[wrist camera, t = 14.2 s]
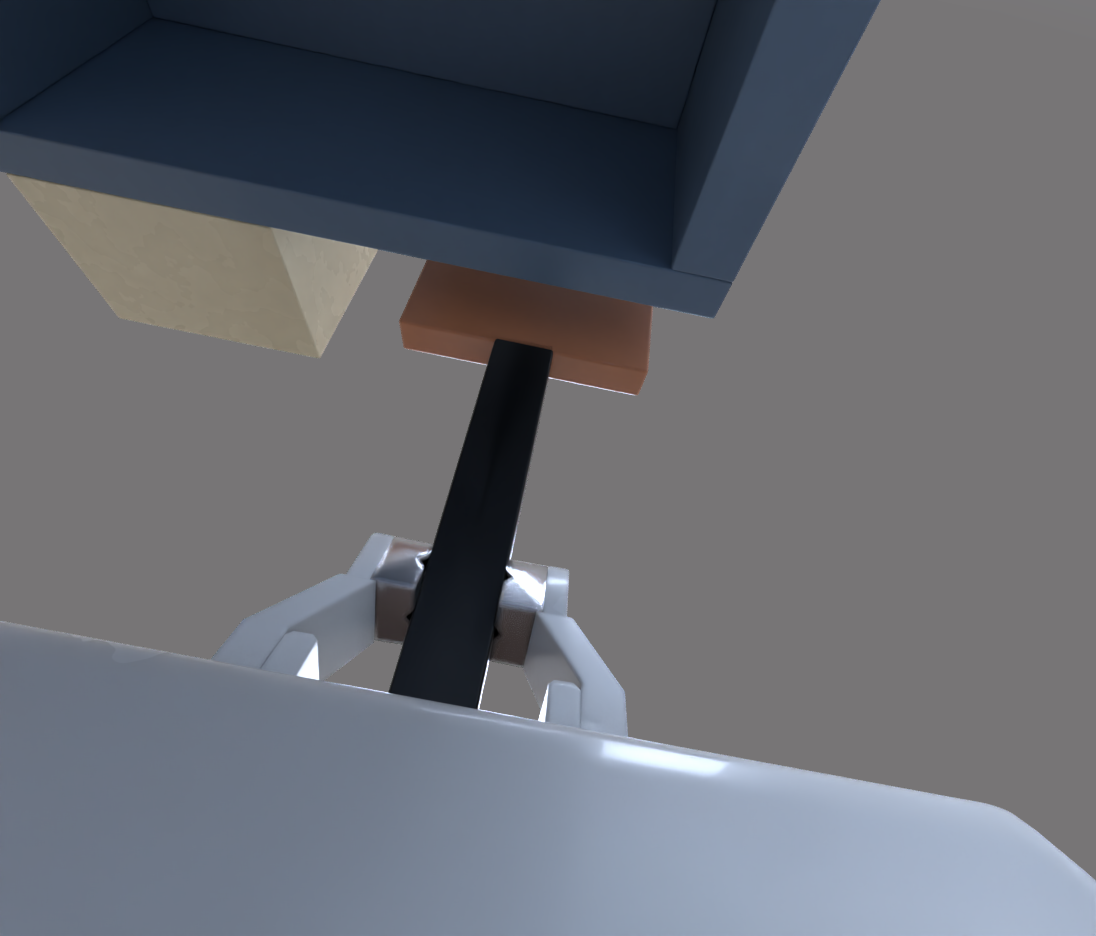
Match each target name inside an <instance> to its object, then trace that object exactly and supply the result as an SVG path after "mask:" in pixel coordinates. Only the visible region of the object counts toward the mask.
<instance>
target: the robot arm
mask: <svg viewBox="0 0 1096 936" xmlns="http://www.w3.org/2000/svg"><path fill="white" fill-rule="evenodd" d="M432 546H433V544H429V543H425V542H420V541H415V540H410V539H406V538H402V537H397V536H396V537H394V536H391V535H386V534H381V533H374V534H372V535H371V536H370V538H369V539H368V541H367V543H366V544H365V546H364V547H363V549H362V550H361V552H360V553H359V555H358V556H357V558H356V559H355V561H354V563H353V564H352V566H351V567H350V569H349V570H348V572H347V573H346V575H344V574H338V575H336V576H334V577H332V578H329V579H327V580H325V581H323V582H321V583H319V584H317V585H315V586H313V587H311V588H308V589H306V590H304V591H302V592H300V593H298V594H296V595H294V596H292V597H289V598H287V599H285V600H283V601H281V602H279V603H277V604H275V605H273V606H271V607H268V608H266V609H264V610H262V611H260V612H258V613H256V614H254V615H252V616H250V617H247V618H245V619H243V620H242V622H241V623H240V624H239V625H238V627H237V628H236V629H235V630H234V632H233V633H232V634H231V635H230V636H229V638H228V639H227V640H226V641H225V642H224V644H223V645H222V646H221V647H220V649H219V650H218V651H217V652H216V653H215V655H214V656H213V657H212V658H211V659H210V660H208V659H203V658H197V657H192V656H187V655H181V654H176V653H171V652H165V651H160V650H154V649H149V648H143V647H138V646H133V645H127V644H122V643H117V642H111V641H106V640H100V639H95V638H90V637H84V636H79V635H74V634H67V633H62V632H57V631H52V630H47V629H41V628H36V627H31V626H25V625H20V624H14V623H9V622H4V621H0V936H1096V881H1095V880H1094V879H1093V878H1092V877H1091V876H1090V875H1089V874H1088V873H1086V872H1085V871H1084V870H1083V869H1082V868H1080V867H1079V866H1078V865H1077V864H1076V863H1074V862H1073V861H1072V860H1071V859H1070V858H1068V857H1067V856H1066V855H1065V854H1064V853H1062V852H1061V851H1060V850H1059V849H1057V848H1056V847H1055V846H1054V845H1053V844H1052V843H1050V842H1049V841H1048V840H1047V839H1046V838H1044V837H1043V836H1042V835H1041V834H1040V833H1038V832H1037V831H1036V830H1034V829H1033V828H1032V827H1030V826H1029V825H1028V824H1026V823H1025V822H1024V821H1022V820H1021V819H1019V818H1018V817H1017V816H1015V815H1014V814H1012V813H1010V812H1008V811H1006V810H1004V809H1002V808H999V807H996V806H993V805H989V804H985V803H980V802H976V801H971V800H964V799H959V798H953V797H948V796H942V795H937V794H932V793H926V792H921V791H915V790H910V789H905V788H899V787H894V786H888V785H883V784H877V783H872V782H867V781H861V780H856V779H850V778H845V777H839V776H834V775H828V774H823V773H818V772H813V771H807V770H802V769H796V768H791V767H786V766H780V765H774V764H769V763H764V762H759V761H753V760H748V759H742V758H737V757H732V756H726V755H721V754H716V753H710V752H705V751H699V750H694V749H688V748H683V747H678V746H672V745H667V744H662V743H656V742H651V741H645V740H640V739H634V738H629V737H628V730H627V716H626V703H625V702H626V701H625V691H624V690H623V689H622V687H621V686H620V684H619V683H618V681H617V680H616V679H615V677H614V676H613V674H612V673H611V672H610V670H609V669H608V667H607V666H606V665H605V663H604V662H603V660H602V659H601V658H600V656H599V655H598V653H597V652H596V651H595V649H594V648H593V646H592V645H591V643H590V642H589V641H588V639H587V638H586V636H585V635H584V633H583V632H582V631H581V629H580V628H579V626H578V625H577V624H576V622H575V621H574V620H573V618H569V617H567V601H568V582H569V571H568V569H563V568H557V567H551V566H548V567H547V566H543V565H537V564H532V563H527V562H521V561H516V560H511V559H510V560H509V563H508V564H507V567H506V579H505V581H504V582H503V585H502V590H501V594H500V599H499V604H498V609H497V614H496V619H495V624H494V626H495V627H496V628H495V632H494V637H493V641H492V647H491V652H490V658H489V661H492V662H497V663H502V664H506V665H511V666H516V667H521V668H523V671H524V673H525V676H526V678H527V680H528V682H529V685H530V687H531V689H532V692H533V694H534V696H535V698H536V700H537V703H538V705H539V707H540V710H541V713H540V717H539V720H538V721H537V720H531V719H527V718H521V717H516V716H511V715H505V714H500V713H494V712H489V711H484V710H479V709H473V708H468V707H463V706H457V705H452V704H446V703H441V702H435V701H430V700H425V699H419V698H414V697H408V696H403V695H398V694H392V693H387V692H381V691H376V690H370V689H365V688H359V687H354V686H349V685H343V684H338V683H332V682H327V681H324V680H325V679H327V678H328V677H329V676H331V675H332V674H333V673H335V672H336V671H337V670H338V669H340V668H341V667H342V666H344V665H345V664H346V663H348V662H349V661H350V660H352V659H353V658H354V657H355V656H357V655H358V654H359V653H361V652H362V651H363V650H365V649H366V648H367V647H369V646H370V645H371V644H372V643H374V640H377V641H383V642H389V643H395V644H402V645H403V642H404V639H405V635H406V632H407V629H408V626H409V622H410V619H411V616H412V612H413V610H414V608H415V606H416V603H417V600H418V596H419V593H420V590H421V586H422V583H423V579H424V573H425V569H426V566H427V563H428V560H429V558H430V555H431V552H432Z"/></svg>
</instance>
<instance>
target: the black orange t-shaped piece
mask: <svg viewBox="0 0 1096 936" xmlns="http://www.w3.org/2000/svg"><path fill="white" fill-rule="evenodd" d="M652 312H653V306H649V305H644V304H639V303H635V302H630V301H625V300H620V299H615V298H610V297H606V296H601V295H596V294H591V293H586V292H581V291H576V290H572V289H567V288H562V287H557V286H552V285H547V284H543V283H538V282H533V281H528V280H523V279H518V278H514V277H509V276H504V275H499V274H494V273H489V272H484V271H480V270H475V269H470V268H465V267H460V266H455V265H451V264H446V263H441V262H436V261H431V260H427V261H426V263H425V265H424V267H423V270H422V272H421V274H420V276H419V278H418V281H417V283H416V285H415V287H414V289H413V292H412V294H411V296H410V298H409V300H408V303H407V305H406V307H405V309H404V311H403V314H402V316H401V318H400V320H399V323H400V328H401V334H402V340H403V346H404V348H406V349H410V350H415V351H419V352H424V353H430V354H434V355H439V356H444V357H449V358H454V359H459V360H464V361H468V362H474V363H478V364H484V365H487V367H486V371H485V374H484V377H483V380H482V384H481V387H480V390H479V394H478V397H477V400H476V404H475V407H474V410H473V414H472V417H471V420H470V424H469V427H468V430H467V433H466V437H465V440H464V443H463V447H462V450H461V453H460V457H459V460H458V463H457V467H456V470H455V473H454V477H453V480H452V483H451V486H450V490H449V493H448V496H447V500H446V503H445V506H444V510H443V513H442V516H441V520H440V523H439V526H438V529H437V533H436V536H435V539H434V543H433V546H432V552H431V555H430V558H429V560H428V563H427V566H426V569H425V573H424V579H423V583H422V586H421V590H420V593H419V596H418V600H417V603H416V606H415V608H414V610H413V612H412V616H411V619H410V622H409V626H408V629H407V632H406V635H405V639H404V642H403V646H402V649H401V652H400V655H399V659H398V662H397V666H396V669H395V672H394V675H393V679H392V682H391V685H390V689H389V692H388V693H392V694H398V695H403V696H408V697H414V698H419V699H425V700H430V701H435V702H441V703H446V704H452V705H457V706H463V707H468V708H473V709H479V706H480V701H481V697H482V692H483V687H484V682H485V678H486V673H487V668H488V664H489V658H490V652H491V647H492V641H493V637H494V632H495V628H496V627H495V626H494V624H495V619H496V614H497V609H498V604H499V599H500V594H501V590H502V585H503V582H504V581H505V579H506V567H507V564H508V563H509V560H510V559H511V555H512V550H513V545H514V541H515V535H516V531H517V526H518V522H519V517H520V512H521V508H522V503H523V498H524V493H525V489H526V484H527V479H528V475H529V470H530V465H531V460H532V455H533V451H534V446H535V441H536V437H537V432H538V427H539V423H540V417H541V413H542V408H543V404H544V399H545V394H546V389H547V384H548V380H549V378H552V379H557V380H562V381H567V382H571V383H576V384H581V385H586V386H591V387H596V388H601V389H606V390H611V391H616V392H620V393H626V394H631V395H638V394H639V392H640V390H641V387H642V385H643V382H644V380H645V378H646V375H647V373H648V364H649V352H650V338H651V326H652Z"/></svg>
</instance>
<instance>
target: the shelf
mask: <svg viewBox="0 0 1096 936" xmlns="http://www.w3.org/2000/svg"><path fill="white" fill-rule="evenodd" d="M880 1H881V0H0V171H1V172H5V173H10V174H15V175H20V176H25V177H29V178H34V179H39V180H44V181H49V182H54V183H58V184H63V185H68V186H73V187H78V188H83V189H88V190H92V191H97V192H102V193H107V194H112V195H117V196H121V197H126V198H131V199H136V200H141V201H146V202H150V203H155V204H160V205H165V206H170V207H175V208H180V209H184V210H189V211H194V212H199V213H204V214H209V215H213V216H218V217H223V218H228V219H233V220H238V221H242V222H247V223H252V224H257V225H262V226H267V227H271V228H276V229H281V230H286V231H291V232H296V233H301V234H305V235H310V236H315V237H320V238H325V239H330V240H334V241H339V242H344V243H349V244H354V245H359V246H363V247H368V248H373V249H378V250H383V251H388V252H393V253H397V254H402V255H407V256H412V257H417V258H422V259H426V260H431V261H436V262H441V263H446V264H451V265H455V266H460V267H465V268H470V269H475V270H480V271H484V272H489V273H494V274H499V275H504V276H509V277H514V278H518V279H523V280H528V281H533V282H538V283H543V284H547V285H552V286H557V287H562V288H567V289H572V290H576V291H581V292H586V293H591V294H596V295H601V296H606V297H610V298H615V299H620V300H625V301H630V302H635V303H639V304H644V305H649V306H654V307H659V308H664V309H668V310H673V311H679V312H683V313H688V314H693V315H698V316H702V317H707V318H714V317H715V316H716V314H717V312H718V310H719V308H720V306H721V304H722V302H723V300H724V298H725V297H726V295H727V293H728V291H729V288H730V287H731V285H732V282H733V281H734V279H735V277H736V276H737V274H738V272H739V270H740V268H741V266H742V264H743V262H744V260H745V258H746V256H747V255H748V253H749V251H750V249H751V247H752V245H753V243H754V241H755V239H756V237H757V235H758V233H759V232H760V230H761V227H762V226H763V224H764V222H765V220H766V218H767V216H768V214H769V213H770V211H771V209H772V207H773V205H774V203H775V201H776V199H777V197H778V195H779V193H780V192H781V189H782V188H783V186H784V184H785V182H786V180H787V178H788V176H789V174H790V172H791V171H792V169H793V166H794V165H795V163H796V161H797V159H798V157H799V155H800V153H801V151H802V149H803V148H804V145H805V144H806V142H807V140H808V138H809V136H810V134H811V132H812V130H813V128H814V127H815V124H816V123H817V121H818V119H819V117H820V115H821V113H822V111H823V109H824V107H825V106H826V103H827V102H828V100H829V98H830V96H831V94H832V92H833V90H834V88H835V86H836V85H837V83H838V81H839V79H840V77H841V75H842V73H843V71H844V69H845V67H846V65H847V64H848V62H849V60H850V58H851V56H852V54H853V52H854V50H855V48H856V46H857V44H858V42H859V41H860V39H861V36H862V35H863V33H864V31H865V29H866V27H867V25H868V23H869V22H870V20H871V18H872V16H873V14H874V12H875V10H876V8H877V6H878V4H879V2H880Z"/></svg>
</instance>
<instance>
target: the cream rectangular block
mask: <svg viewBox="0 0 1096 936" xmlns="http://www.w3.org/2000/svg"><path fill="white" fill-rule="evenodd" d="M7 176H8V177H9V178H10V180H11V181H12V182H13V184H14V185H15V186H16V187H17V189H18V190H19V191H20V192H21V194H22V195H23V196H24V198H25V199H26V200H27V201H28V203H29V204H30V205H31V206H32V208H33V209H34V210H35V212H36V213H37V214H38V215H39V217H40V218H41V219H42V220H43V222H44V223H45V224H46V225H47V227H48V228H49V229H50V231H51V232H52V233H53V234H54V236H55V237H56V238H57V240H58V241H59V242H60V243H61V245H62V246H63V247H64V248H65V250H66V251H67V252H68V253H69V255H70V256H71V257H72V259H73V260H74V261H75V262H76V263H77V265H78V266H79V268H80V269H81V270H82V271H83V273H84V274H85V275H86V276H87V278H88V279H89V280H90V281H91V283H92V284H93V285H94V286H95V288H96V289H97V290H98V292H99V293H100V294H101V295H102V297H103V298H104V299H105V300H106V302H107V303H108V304H109V305H110V307H111V308H112V309H113V311H114V312H115V313H116V315H117V316H118V317H119V318H121V319H126V320H131V321H136V322H141V323H146V324H151V325H156V326H161V327H166V328H170V329H176V330H180V331H185V332H190V333H195V334H201V335H205V336H210V337H215V338H220V339H225V340H231V341H235V342H240V343H245V344H250V345H255V346H260V347H265V348H270V349H275V350H280V351H285V352H290V353H295V354H300V355H305V356H310V357H315V358H320V357H321V355H322V354H323V352H324V350H325V348H326V346H327V344H328V342H329V340H330V339H331V337H332V335H333V333H334V331H335V329H336V327H337V325H338V324H339V322H340V320H341V318H342V316H343V314H344V313H345V310H346V309H347V307H348V305H349V303H350V301H351V299H352V298H353V295H354V294H355V292H356V290H357V288H358V286H359V284H360V283H361V281H362V279H363V277H364V275H365V273H366V271H367V270H368V268H369V265H370V264H371V262H372V260H373V258H374V256H375V255H376V253H377V251H378V249H373V248H368V247H363V246H359V245H354V244H349V243H344V242H339V241H334V240H330V239H325V238H320V237H315V236H310V235H305V234H301V233H296V232H291V231H286V230H281V229H276V228H271V227H267V226H262V225H257V224H252V223H247V222H242V221H238V220H233V219H228V218H223V217H218V216H213V215H209V214H204V213H199V212H194V211H189V210H184V209H180V208H175V207H170V206H165V205H160V204H155V203H150V202H146V201H141V200H136V199H131V198H126V197H121V196H117V195H112V194H107V193H102V192H97V191H92V190H88V189H83V188H78V187H73V186H68V185H63V184H58V183H54V182H49V181H44V180H39V179H34V178H29V177H25V176H20V175H15V174H10V173H7Z"/></svg>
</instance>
